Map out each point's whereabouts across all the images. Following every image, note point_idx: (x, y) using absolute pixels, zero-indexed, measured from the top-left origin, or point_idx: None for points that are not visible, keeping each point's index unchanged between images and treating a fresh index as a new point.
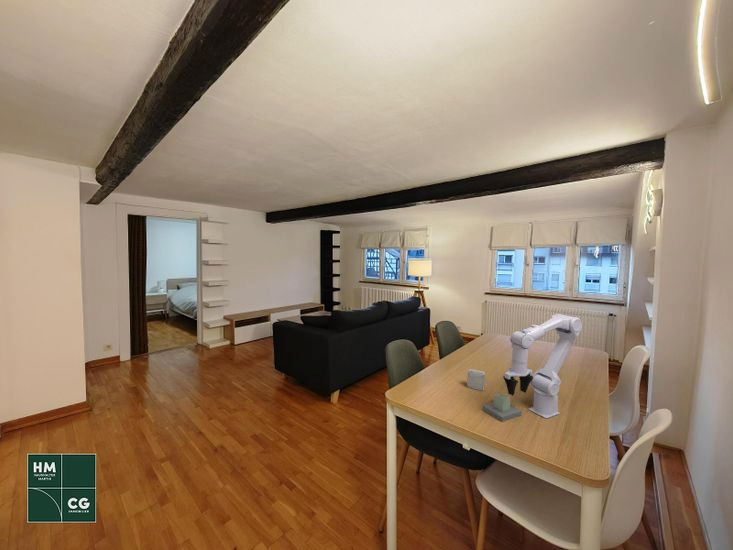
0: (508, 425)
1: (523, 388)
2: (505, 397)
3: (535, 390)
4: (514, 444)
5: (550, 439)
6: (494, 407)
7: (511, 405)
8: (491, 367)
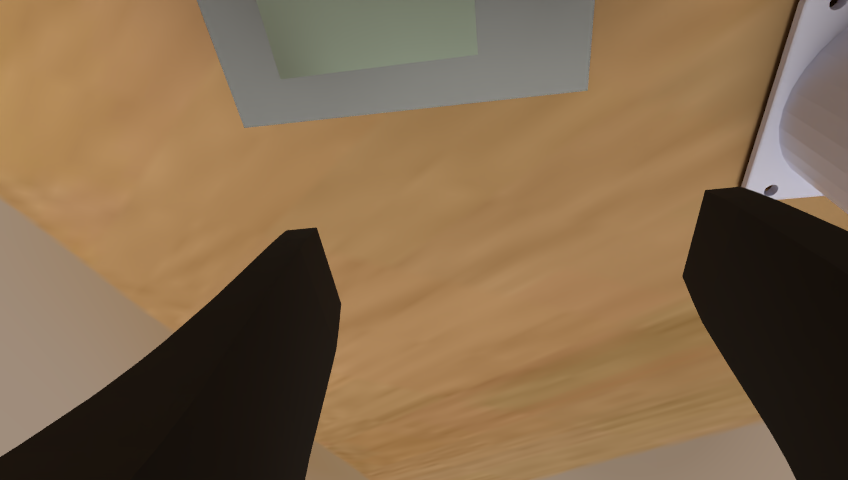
0: (291, 168)
1: (733, 297)
2: (399, 4)
3: None
4: None
5: (468, 351)
6: None
7: None
8: None
